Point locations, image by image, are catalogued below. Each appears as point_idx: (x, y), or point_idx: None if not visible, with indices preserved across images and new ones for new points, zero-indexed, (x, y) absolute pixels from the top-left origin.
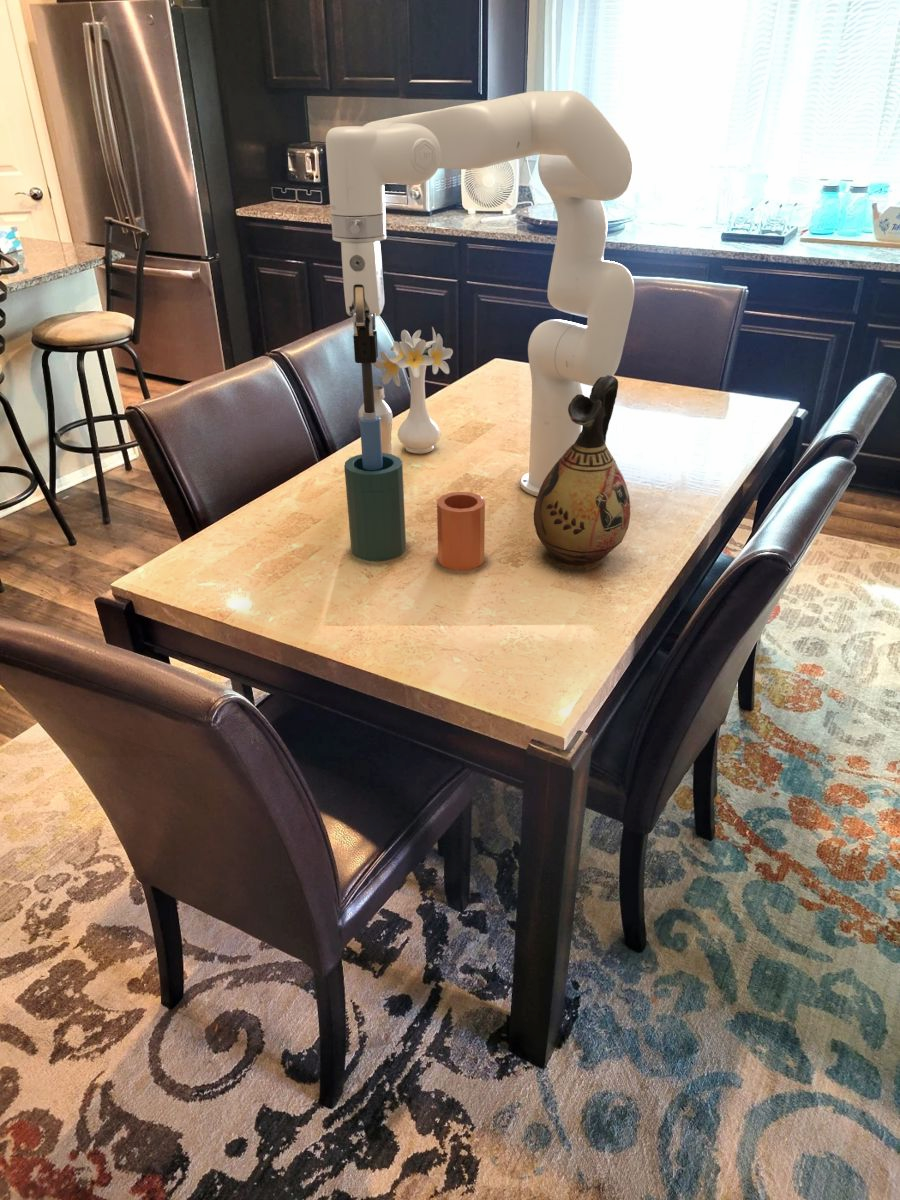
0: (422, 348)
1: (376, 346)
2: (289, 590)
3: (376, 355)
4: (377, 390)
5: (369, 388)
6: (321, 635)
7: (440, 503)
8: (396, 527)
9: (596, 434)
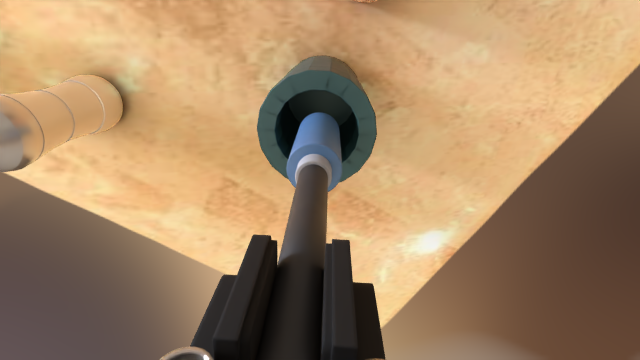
0: None
1: (256, 272)
2: (411, 197)
3: (334, 253)
4: None
5: (326, 208)
6: (520, 155)
7: None
8: (352, 73)
9: None
